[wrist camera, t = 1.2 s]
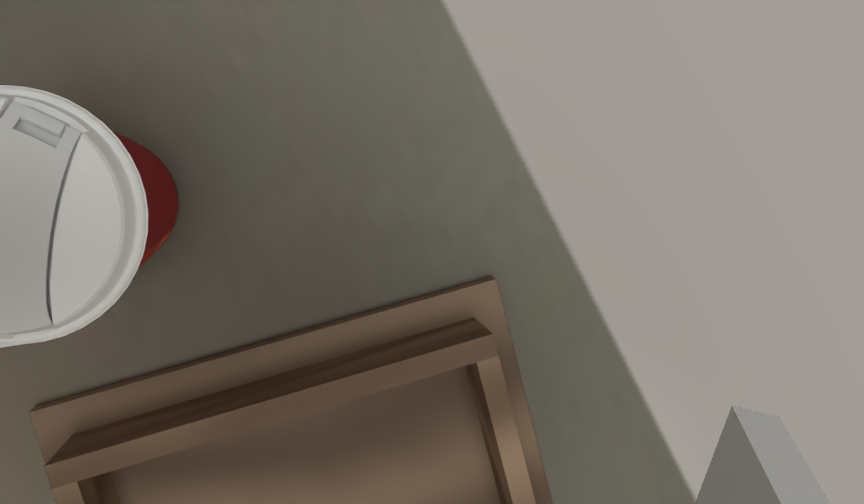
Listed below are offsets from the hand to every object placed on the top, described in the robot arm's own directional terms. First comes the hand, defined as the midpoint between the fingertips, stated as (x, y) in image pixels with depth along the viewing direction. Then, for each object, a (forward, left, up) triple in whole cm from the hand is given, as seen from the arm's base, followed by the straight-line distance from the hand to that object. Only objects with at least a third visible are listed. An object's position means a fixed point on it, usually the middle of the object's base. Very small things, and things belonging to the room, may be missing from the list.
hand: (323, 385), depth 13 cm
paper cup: (-4, -8, -25) cm, 27 cm away
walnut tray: (+15, -3, -25) cm, 29 cm away
